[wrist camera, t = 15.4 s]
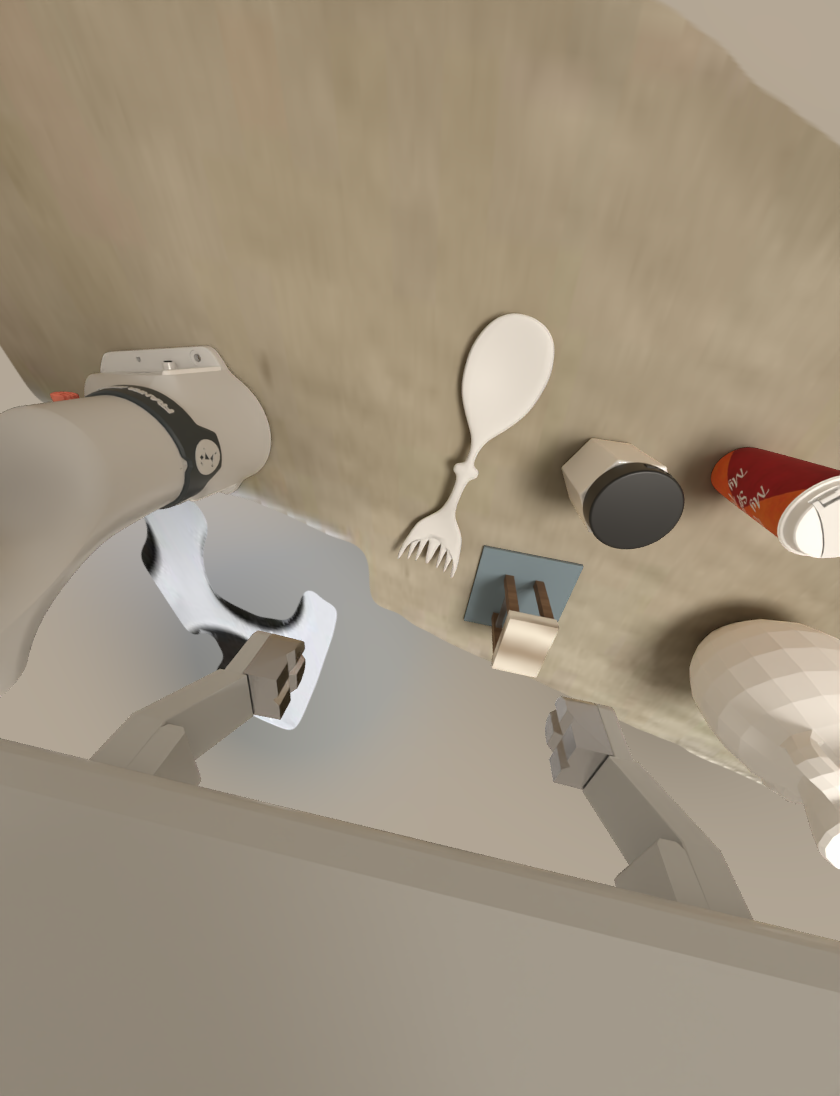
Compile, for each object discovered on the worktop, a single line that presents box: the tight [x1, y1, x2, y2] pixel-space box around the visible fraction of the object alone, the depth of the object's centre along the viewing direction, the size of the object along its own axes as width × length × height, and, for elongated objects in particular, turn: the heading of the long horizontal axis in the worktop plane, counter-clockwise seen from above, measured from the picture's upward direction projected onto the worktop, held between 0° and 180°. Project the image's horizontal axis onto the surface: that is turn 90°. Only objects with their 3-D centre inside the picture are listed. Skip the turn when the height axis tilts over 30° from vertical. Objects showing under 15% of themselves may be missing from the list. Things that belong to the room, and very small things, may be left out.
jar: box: [562, 438, 684, 549], centre depth 38 cm, size 9×8×12 cm
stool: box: [491, 574, 559, 677], centre depth 49 cm, size 9×6×10 cm, turn 171°
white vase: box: [689, 619, 840, 869], centre depth 42 cm, size 19×18×25 cm
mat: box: [464, 545, 583, 628], centre depth 53 cm, size 14×14×1 cm
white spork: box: [398, 313, 554, 578], centre depth 44 cm, size 9×32×4 cm, turn 161°
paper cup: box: [711, 447, 840, 558], centre depth 35 cm, size 8×8×14 cm
